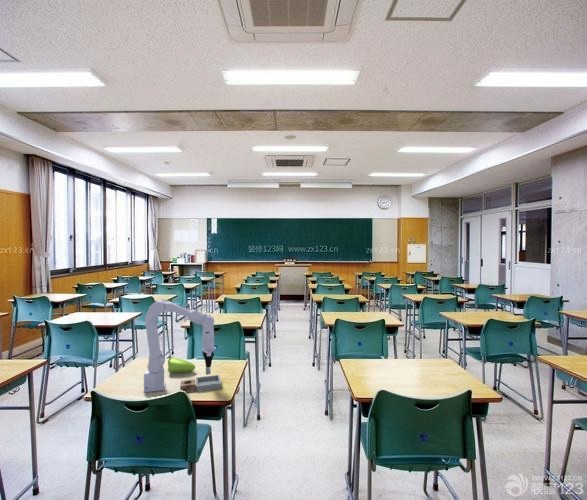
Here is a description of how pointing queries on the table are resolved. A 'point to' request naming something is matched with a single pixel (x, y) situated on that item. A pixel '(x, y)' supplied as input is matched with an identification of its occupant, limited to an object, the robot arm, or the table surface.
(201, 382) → the tray
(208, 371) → the pin
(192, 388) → the pin block
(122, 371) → the table surface
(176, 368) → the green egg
